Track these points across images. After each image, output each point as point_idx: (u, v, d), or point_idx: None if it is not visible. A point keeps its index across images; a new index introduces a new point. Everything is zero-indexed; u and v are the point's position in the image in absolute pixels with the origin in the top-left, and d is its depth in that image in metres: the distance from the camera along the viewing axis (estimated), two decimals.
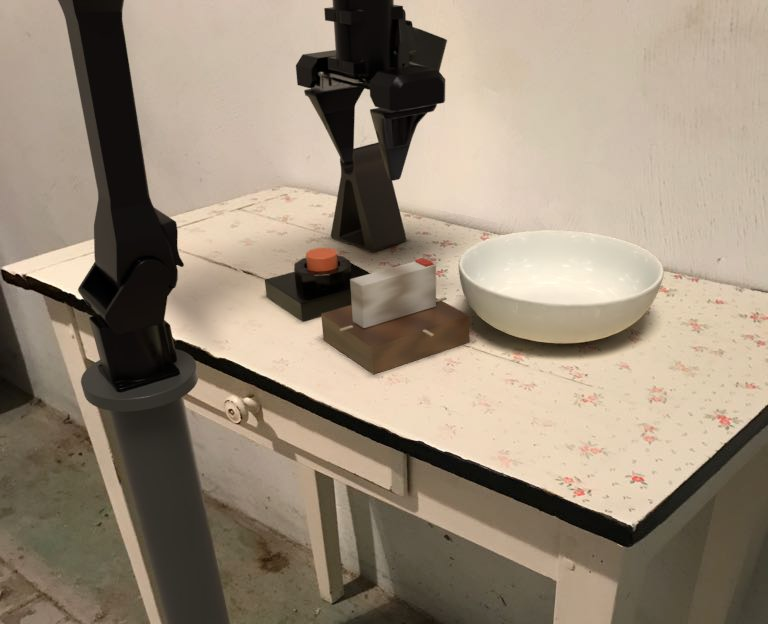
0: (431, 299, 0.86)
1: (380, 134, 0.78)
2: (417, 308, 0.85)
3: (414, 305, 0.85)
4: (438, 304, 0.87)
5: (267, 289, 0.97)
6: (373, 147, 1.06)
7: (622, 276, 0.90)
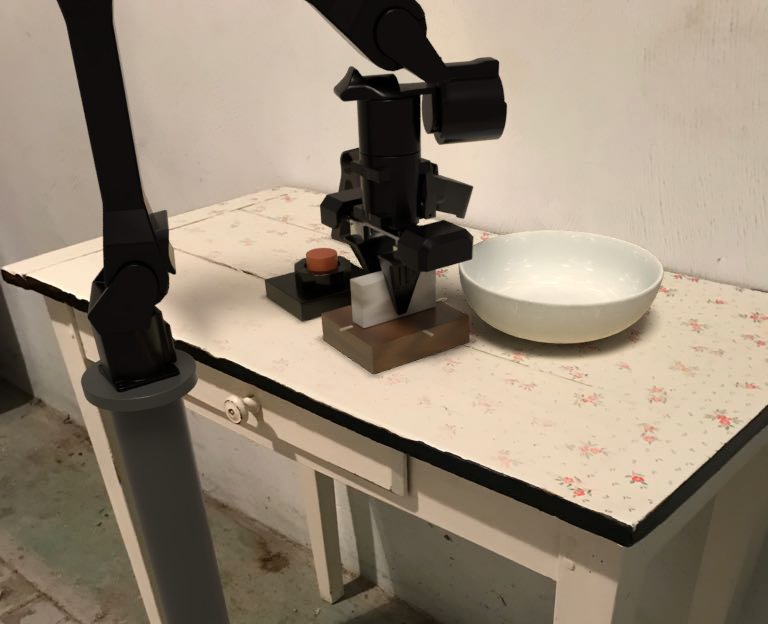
0: (431, 299, 0.86)
1: (387, 277, 0.79)
2: (417, 308, 0.85)
3: (414, 305, 0.85)
4: (438, 304, 0.87)
5: (267, 289, 0.97)
6: None
7: (622, 276, 0.90)
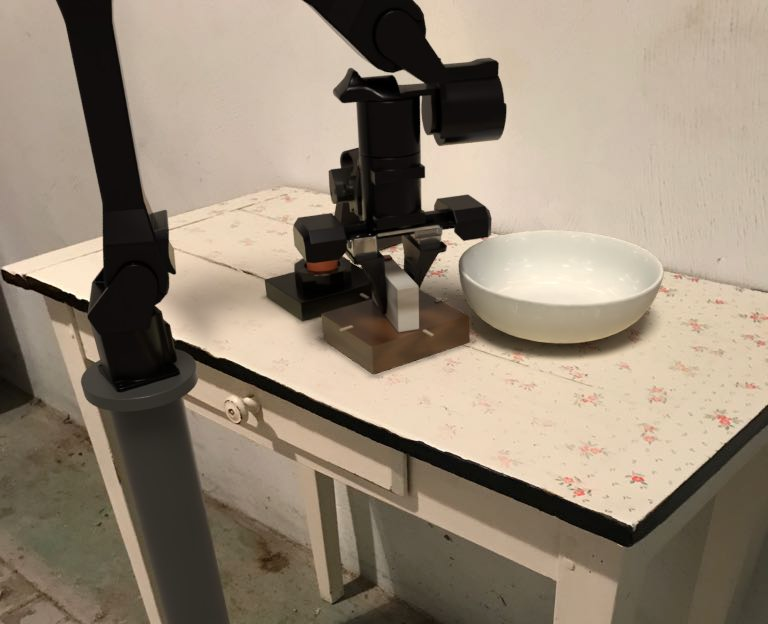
0: None
1: (423, 270, 0.81)
2: None
3: None
4: (438, 304, 0.87)
5: (267, 289, 0.97)
6: None
7: (622, 276, 0.90)
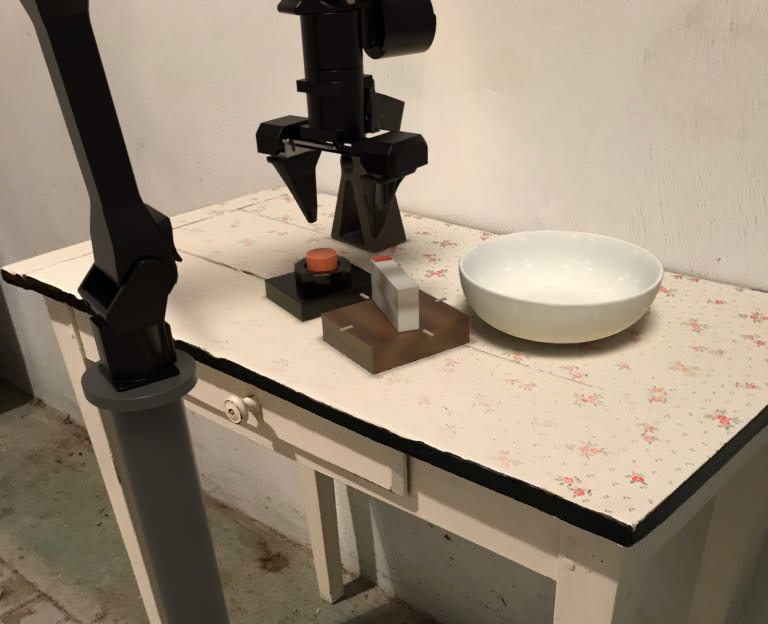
0: None
1: (369, 197, 0.81)
2: None
3: None
4: (438, 304, 0.87)
5: (267, 289, 0.97)
6: None
7: (622, 276, 0.90)
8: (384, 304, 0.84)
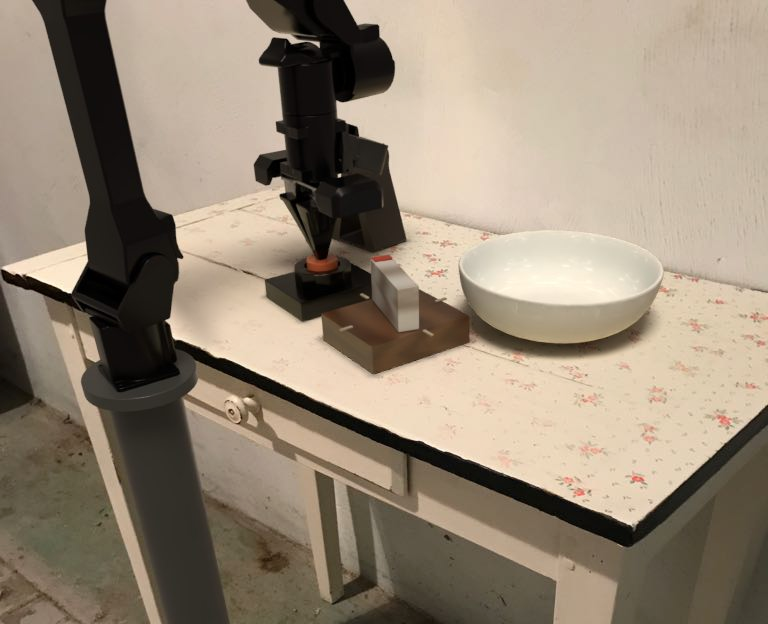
0: None
1: (306, 223, 0.90)
2: None
3: None
4: (438, 304, 0.87)
5: (267, 289, 0.97)
6: None
7: (622, 276, 0.90)
8: (384, 304, 0.84)
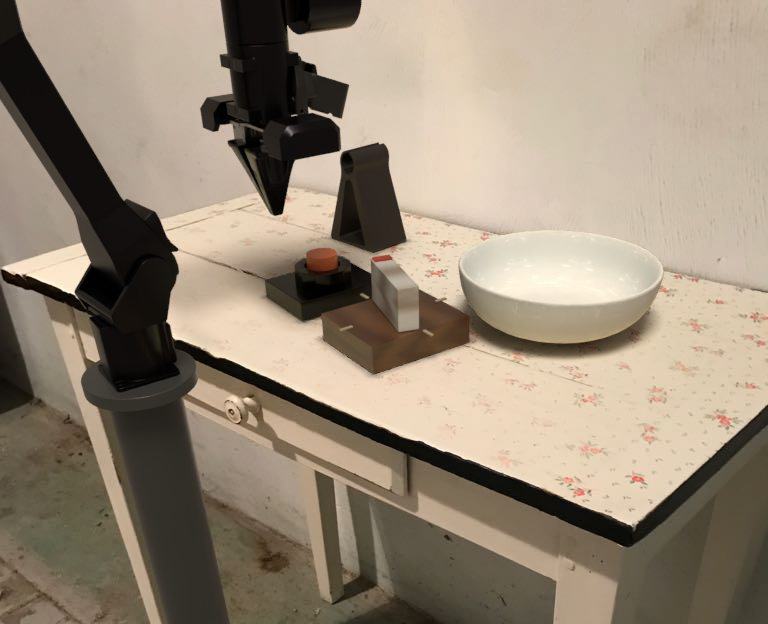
0: None
1: (256, 172, 0.80)
2: None
3: None
4: (438, 304, 0.87)
5: (267, 289, 0.97)
6: (373, 147, 1.06)
7: (622, 276, 0.90)
8: (384, 304, 0.84)
